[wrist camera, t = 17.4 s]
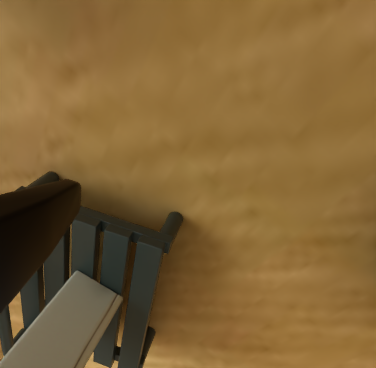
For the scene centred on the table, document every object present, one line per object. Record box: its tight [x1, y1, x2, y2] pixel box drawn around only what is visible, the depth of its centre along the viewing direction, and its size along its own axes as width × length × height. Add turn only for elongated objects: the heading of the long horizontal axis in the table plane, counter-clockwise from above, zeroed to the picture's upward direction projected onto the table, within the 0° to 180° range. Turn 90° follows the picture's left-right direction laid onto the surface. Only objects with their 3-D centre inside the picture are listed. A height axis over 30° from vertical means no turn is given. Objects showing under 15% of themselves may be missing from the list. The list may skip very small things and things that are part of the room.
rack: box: [0, 172, 183, 368], centre depth 26 cm, size 12×16×7 cm
